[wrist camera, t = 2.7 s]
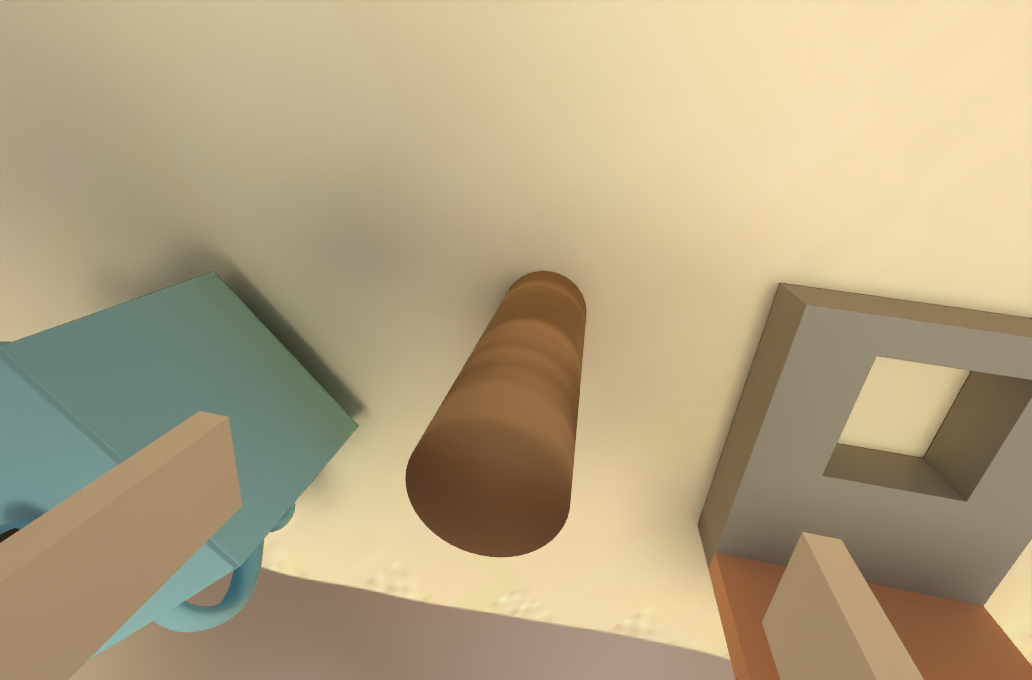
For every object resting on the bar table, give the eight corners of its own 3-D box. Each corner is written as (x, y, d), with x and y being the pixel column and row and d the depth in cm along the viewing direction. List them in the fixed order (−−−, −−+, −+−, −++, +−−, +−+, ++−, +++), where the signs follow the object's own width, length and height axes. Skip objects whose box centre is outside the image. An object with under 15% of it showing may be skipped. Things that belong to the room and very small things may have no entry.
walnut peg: (507, 265, 23) (406, 407, 11) (592, 277, 22) (582, 440, 10) (500, 342, 24) (404, 538, 13) (578, 355, 24) (557, 571, 12)
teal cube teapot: (199, 222, 24) (-171, 302, 13) (402, 442, 28) (256, 666, 16) (48, 392, 31) (-290, 549, 19) (227, 555, 34) (32, 773, 23)
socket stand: (772, 281, 21) (1140, 596, 7) (1094, 327, 20) (2422, 845, 5) (689, 532, 27) (789, 985, 13) (931, 580, 26) (1354, 1149, 11)
